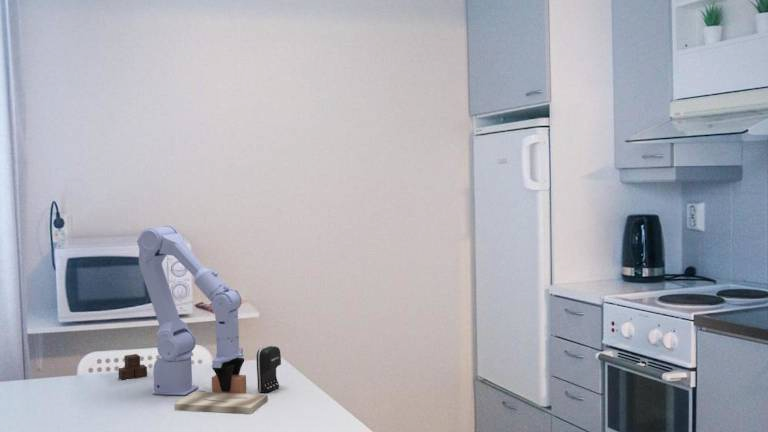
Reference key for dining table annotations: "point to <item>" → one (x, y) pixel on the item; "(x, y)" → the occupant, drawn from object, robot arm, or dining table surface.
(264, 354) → the battery charger
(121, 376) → the stack of crates
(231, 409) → the board
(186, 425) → the dining table surface
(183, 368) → the robot arm
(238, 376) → the block
